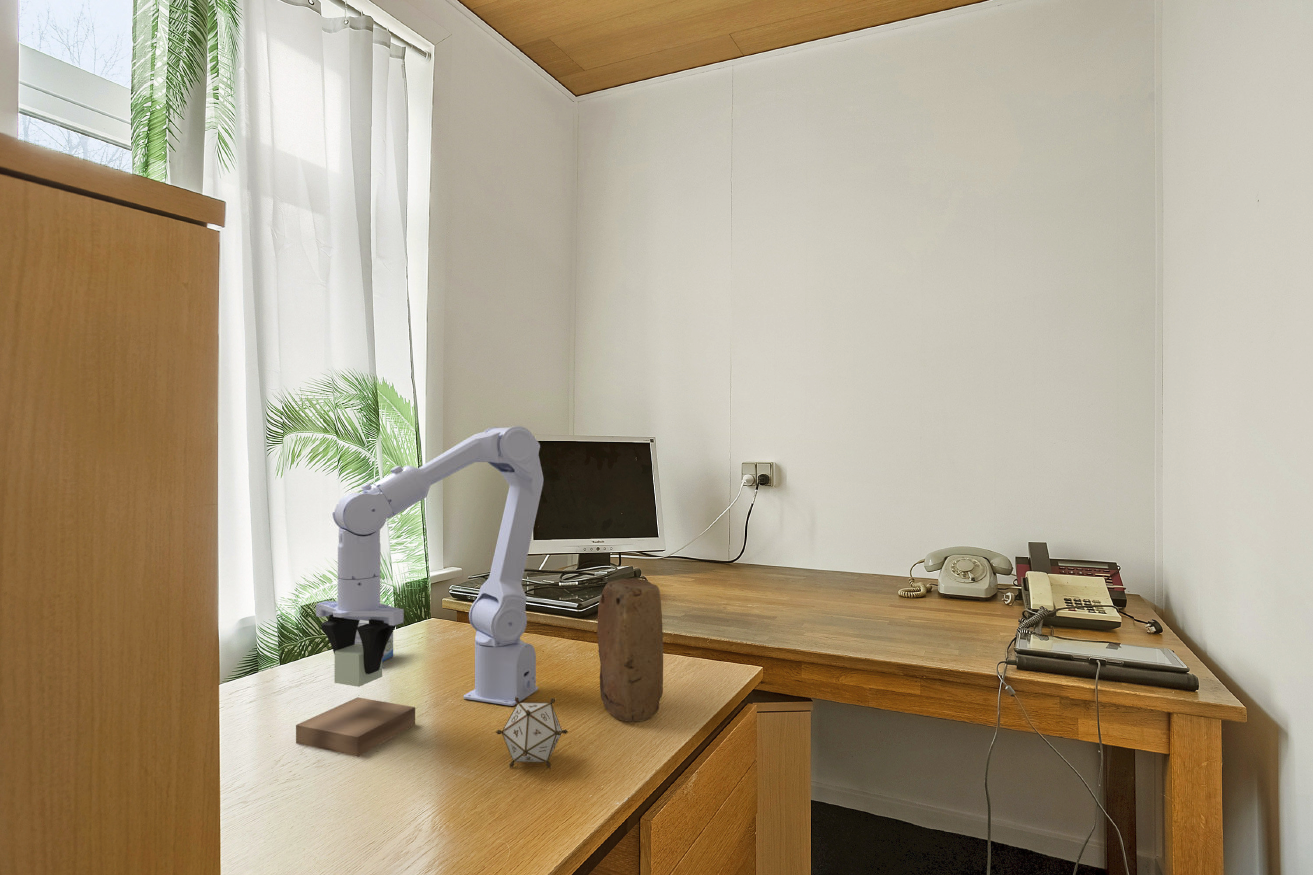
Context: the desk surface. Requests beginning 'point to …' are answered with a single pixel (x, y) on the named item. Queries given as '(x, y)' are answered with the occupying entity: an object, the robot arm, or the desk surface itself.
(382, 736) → the walnut block
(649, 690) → the block
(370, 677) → the sage block
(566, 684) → the desk surface
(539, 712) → the game die
